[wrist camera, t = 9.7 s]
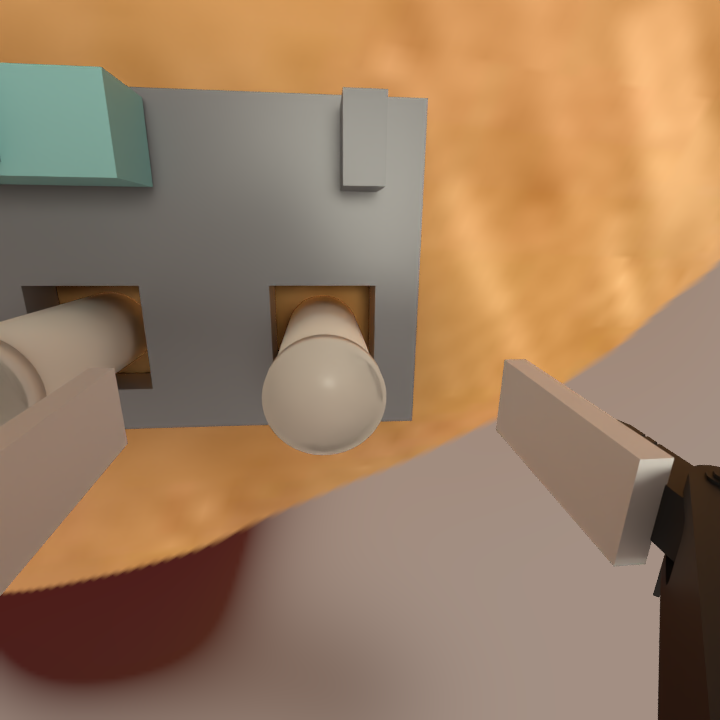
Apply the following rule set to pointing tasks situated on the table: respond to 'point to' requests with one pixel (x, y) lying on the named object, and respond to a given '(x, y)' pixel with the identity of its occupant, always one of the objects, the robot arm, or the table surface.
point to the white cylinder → (65, 346)
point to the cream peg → (323, 381)
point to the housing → (236, 240)
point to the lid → (70, 128)
